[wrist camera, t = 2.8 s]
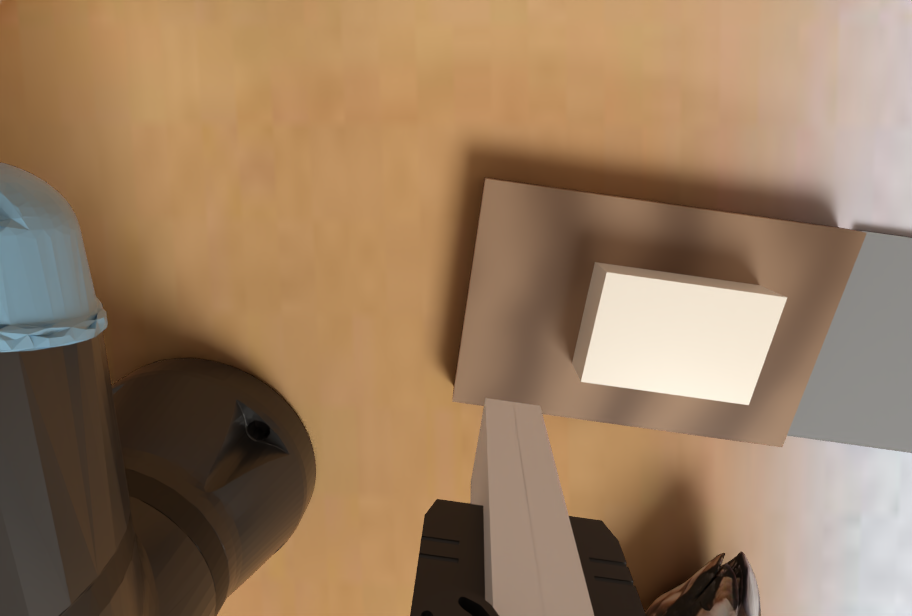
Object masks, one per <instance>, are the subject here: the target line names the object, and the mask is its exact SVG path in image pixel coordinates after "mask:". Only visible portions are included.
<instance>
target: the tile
mask: <svg viewBox="0 0 912 616" xmlns="http://www.w3.org/2000/svg"><path fill="white" fill-rule="evenodd" d="M786 300H787V297H785V296H783V295H780V294H778V293H776V292H774V291H771V290H769V289H767V288H765V287H762V286H760V285H754V284H747V283H740V282H733V281H726V280H719V279H711V278H704V277H697V276H690V275H683V274H676V273H669V272H662V271H655V270H647V269H640V268H633V267H626V266H619V265H612V264H605V263H598V262H595V264H594V268H593V273H592V277H591V282H590V286H589V290H588V295H587V299H586V304H585V308H584V312H583V317H582V321H581V326H580V330H579V335H578V339H577V343H576V348H575V352H574V357H573V361H572V364H573V367H574V369H575V371H576V373H577V375H578V377H579V379H580V381H581V382H586V383H593V384H600V385H607V386H615V387H622V388H629V389H636V390H643V391H650V392H658V393H665V394H672V395H679V396H686V397H694V398H701V399H708V400H715V401H722V402H729V403H737V404H744V405H749V403H750V400H751V397H752V395H753V392H754V389H755V386H756V383H757V381H758V378H759V375H760V372H761V370H762V367H763V364H764V361H765V358H766V356H767V353H768V350H769V347H770V344H771V342H772V339H773V336H774V333H775V331H776V328H777V325H778V322H779V319H780V317H781V314H782V311H783V308H784V306H785V303H786Z"/></svg>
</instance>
